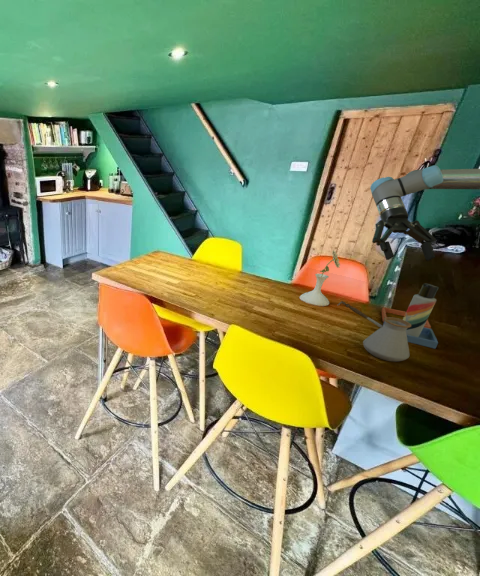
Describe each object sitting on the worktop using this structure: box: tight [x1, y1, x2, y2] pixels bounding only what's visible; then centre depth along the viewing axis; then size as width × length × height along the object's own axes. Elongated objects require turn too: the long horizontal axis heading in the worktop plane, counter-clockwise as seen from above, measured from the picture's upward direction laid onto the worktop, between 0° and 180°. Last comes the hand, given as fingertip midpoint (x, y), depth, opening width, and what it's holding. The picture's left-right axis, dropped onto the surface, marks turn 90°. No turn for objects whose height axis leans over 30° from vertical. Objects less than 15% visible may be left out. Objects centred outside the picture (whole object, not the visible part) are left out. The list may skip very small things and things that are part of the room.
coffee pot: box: [337, 300, 411, 362], centre depth 100 cm, size 21×12×15 cm, turn 44°
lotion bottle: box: [402, 282, 439, 337], centre depth 108 cm, size 6×6×20 cm
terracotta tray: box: [380, 306, 432, 329], centre depth 121 cm, size 13×12×2 cm
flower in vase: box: [299, 250, 341, 307], centre depth 135 cm, size 13×11×25 cm
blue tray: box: [382, 321, 439, 350], centre depth 111 cm, size 13×12×2 cm
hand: (410, 258), depth 112 cm, fingers open, 13 cm apart
